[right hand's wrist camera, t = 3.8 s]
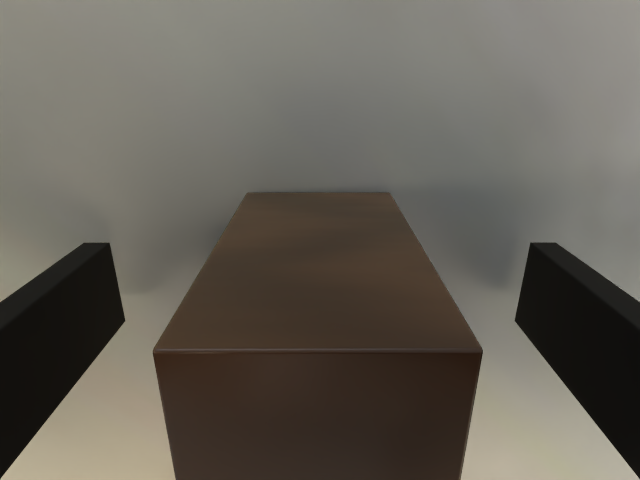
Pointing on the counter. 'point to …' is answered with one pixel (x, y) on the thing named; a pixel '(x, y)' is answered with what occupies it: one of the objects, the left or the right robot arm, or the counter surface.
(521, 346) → the counter surface
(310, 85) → the counter surface
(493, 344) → the counter surface
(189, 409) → the walnut plank
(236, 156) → the counter surface
